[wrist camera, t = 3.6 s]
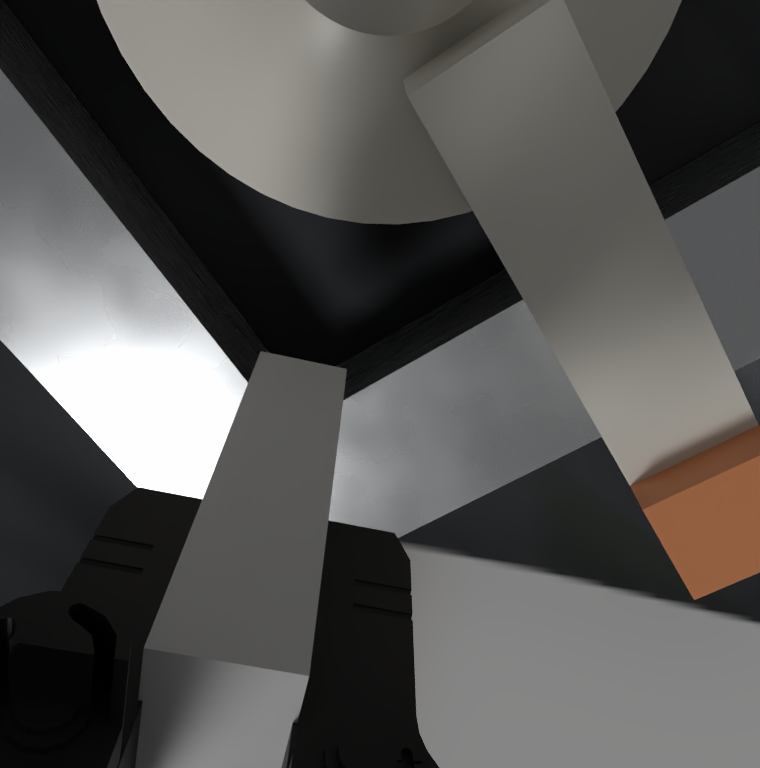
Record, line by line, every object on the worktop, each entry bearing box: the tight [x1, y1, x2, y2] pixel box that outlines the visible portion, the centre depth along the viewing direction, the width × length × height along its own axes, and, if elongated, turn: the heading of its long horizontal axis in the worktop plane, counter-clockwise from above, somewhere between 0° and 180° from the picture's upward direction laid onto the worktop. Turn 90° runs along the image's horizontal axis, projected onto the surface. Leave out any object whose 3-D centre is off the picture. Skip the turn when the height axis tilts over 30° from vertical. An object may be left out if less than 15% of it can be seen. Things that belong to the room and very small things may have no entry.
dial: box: [97, 0, 760, 600], centre depth 11 cm, size 15×9×6 cm, turn 32°
